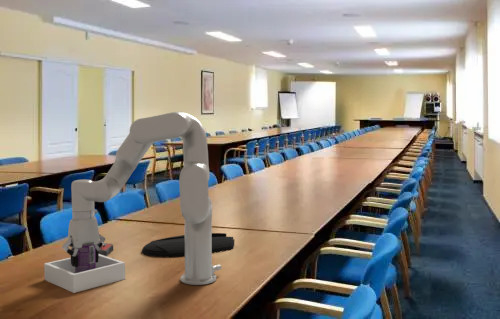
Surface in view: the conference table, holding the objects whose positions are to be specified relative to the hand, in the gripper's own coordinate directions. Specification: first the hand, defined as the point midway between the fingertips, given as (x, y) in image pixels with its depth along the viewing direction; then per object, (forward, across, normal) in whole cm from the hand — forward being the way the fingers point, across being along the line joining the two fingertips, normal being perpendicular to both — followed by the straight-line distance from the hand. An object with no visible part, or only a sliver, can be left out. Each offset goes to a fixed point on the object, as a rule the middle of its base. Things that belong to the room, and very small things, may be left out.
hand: (85, 263), depth 190 cm
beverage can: (+5, 0, 0) cm, 5 cm away
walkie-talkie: (+6, -21, -25) cm, 33 cm away
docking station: (+7, -53, -6) cm, 54 cm away
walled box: (+6, 0, 0) cm, 6 cm away
